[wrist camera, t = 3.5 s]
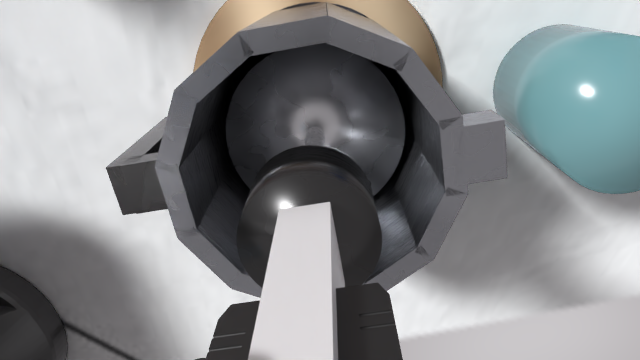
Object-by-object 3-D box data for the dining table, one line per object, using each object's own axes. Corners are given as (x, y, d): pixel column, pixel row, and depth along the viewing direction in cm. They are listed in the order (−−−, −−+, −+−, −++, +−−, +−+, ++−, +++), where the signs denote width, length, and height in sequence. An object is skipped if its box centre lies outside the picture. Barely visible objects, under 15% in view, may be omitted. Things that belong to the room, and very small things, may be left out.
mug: (518, 160, 36) (582, 218, 27) (474, 63, 33) (529, 92, 24) (649, 95, 34) (764, 134, 25) (614, -13, 31) (728, -12, 22)
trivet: (227, 223, 38) (226, 226, 37) (164, -11, 31) (161, -11, 31) (449, 188, 36) (451, 191, 36) (429, -62, 30) (430, -63, 30)
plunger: (250, 221, 28) (201, 379, 17) (209, 59, 25) (114, 122, 13) (411, 196, 27) (471, 343, 16) (391, 26, 24) (450, 63, 13)
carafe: (208, 201, 36) (137, 336, 22) (159, 29, 32) (32, 65, 18) (436, 164, 35) (510, 283, 21) (419, -19, 31) (499, -22, 17)
